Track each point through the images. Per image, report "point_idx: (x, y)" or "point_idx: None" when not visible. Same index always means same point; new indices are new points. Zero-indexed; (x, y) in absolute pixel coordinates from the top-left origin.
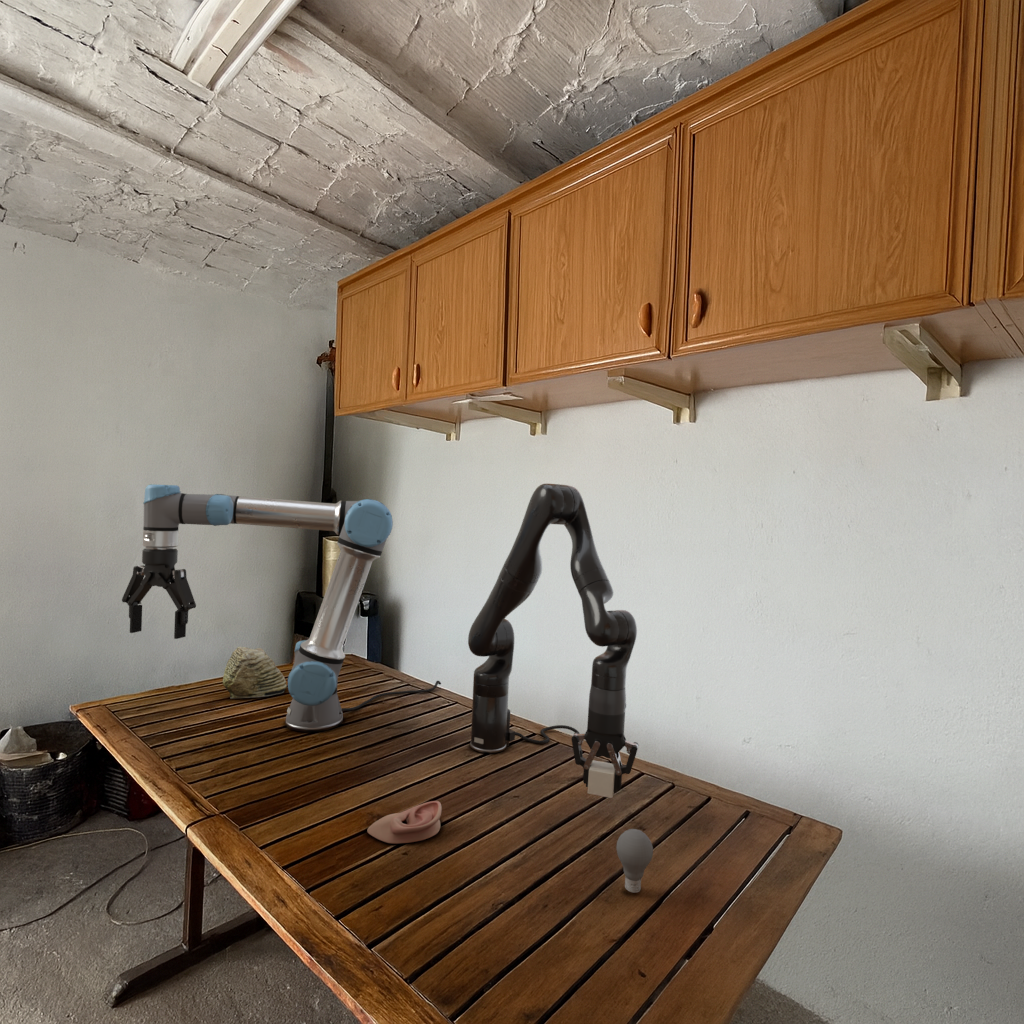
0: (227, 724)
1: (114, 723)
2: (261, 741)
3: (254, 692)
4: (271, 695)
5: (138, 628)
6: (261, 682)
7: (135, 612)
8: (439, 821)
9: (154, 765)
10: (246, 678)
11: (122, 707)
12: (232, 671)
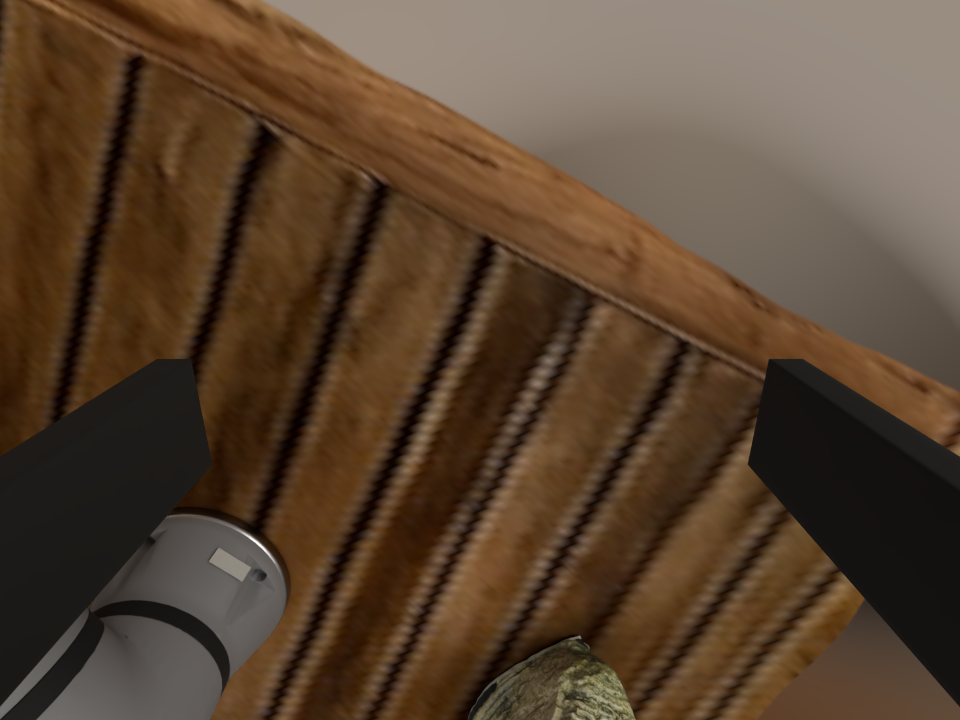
0: (425, 478)
1: (769, 354)
2: (224, 411)
3: (518, 678)
4: (483, 691)
5: (772, 449)
6: (502, 716)
7: (933, 532)
8: None
9: (359, 127)
10: (535, 707)
11: None
12: (577, 714)
